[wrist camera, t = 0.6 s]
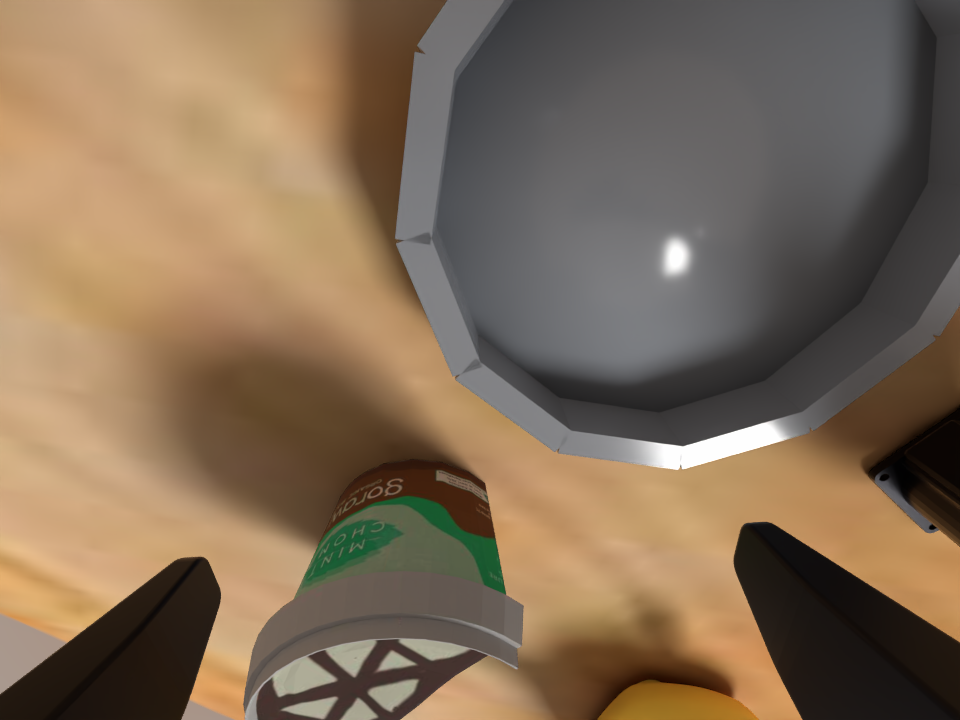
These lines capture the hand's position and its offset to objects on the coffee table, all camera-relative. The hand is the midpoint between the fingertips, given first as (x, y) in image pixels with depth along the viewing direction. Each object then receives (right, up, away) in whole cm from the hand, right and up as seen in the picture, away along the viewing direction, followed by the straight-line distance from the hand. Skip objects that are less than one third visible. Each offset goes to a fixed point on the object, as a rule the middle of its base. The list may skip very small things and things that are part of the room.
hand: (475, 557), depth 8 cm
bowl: (+8, +10, +11) cm, 17 cm away
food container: (-5, -4, +17) cm, 19 cm away
